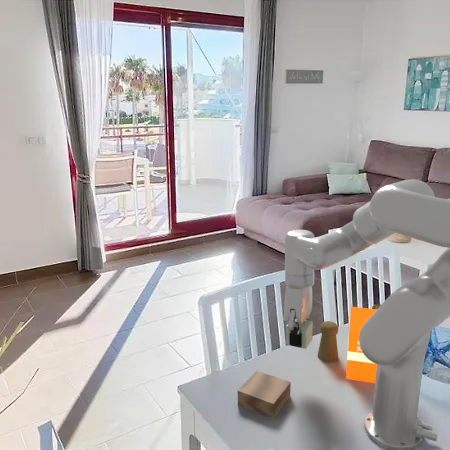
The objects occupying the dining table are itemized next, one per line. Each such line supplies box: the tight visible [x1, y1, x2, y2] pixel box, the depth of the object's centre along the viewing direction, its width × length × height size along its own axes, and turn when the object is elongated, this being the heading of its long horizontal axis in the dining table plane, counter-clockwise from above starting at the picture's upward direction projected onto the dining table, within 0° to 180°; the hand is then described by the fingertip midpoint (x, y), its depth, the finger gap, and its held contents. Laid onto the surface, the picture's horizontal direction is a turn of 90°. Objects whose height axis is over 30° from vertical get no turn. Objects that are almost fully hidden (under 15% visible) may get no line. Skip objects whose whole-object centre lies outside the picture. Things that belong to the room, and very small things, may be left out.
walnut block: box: [237, 370, 292, 419], centre depth 118 cm, size 10×10×4 cm
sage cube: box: [285, 319, 313, 350], centre depth 123 cm, size 6×6×6 cm
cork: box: [317, 320, 339, 363], centre depth 136 cm, size 6×6×11 cm
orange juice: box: [345, 306, 377, 384], centre depth 126 cm, size 8×9×20 cm
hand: (299, 340), depth 124 cm, fingers closed on sage cube, 5 cm apart
